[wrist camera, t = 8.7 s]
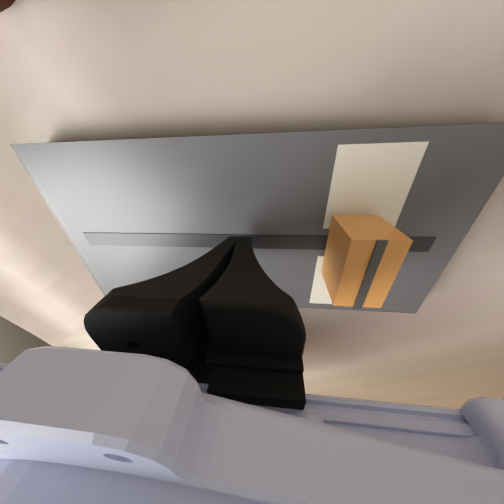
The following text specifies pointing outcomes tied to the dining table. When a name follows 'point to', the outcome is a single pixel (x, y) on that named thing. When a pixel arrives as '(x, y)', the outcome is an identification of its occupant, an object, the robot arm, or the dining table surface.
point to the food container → (5, 4)
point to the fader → (362, 259)
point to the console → (269, 199)
